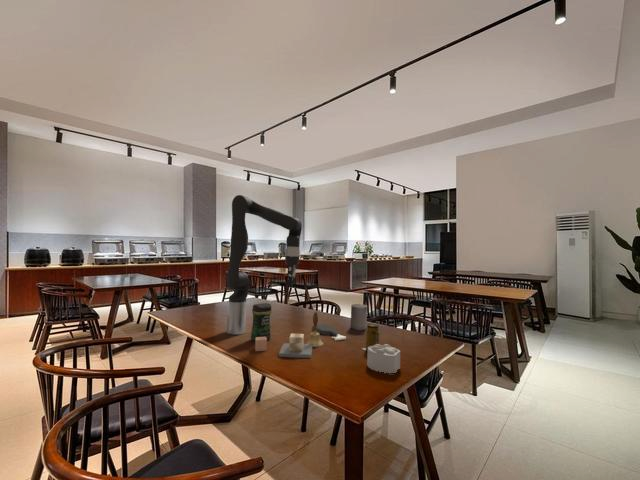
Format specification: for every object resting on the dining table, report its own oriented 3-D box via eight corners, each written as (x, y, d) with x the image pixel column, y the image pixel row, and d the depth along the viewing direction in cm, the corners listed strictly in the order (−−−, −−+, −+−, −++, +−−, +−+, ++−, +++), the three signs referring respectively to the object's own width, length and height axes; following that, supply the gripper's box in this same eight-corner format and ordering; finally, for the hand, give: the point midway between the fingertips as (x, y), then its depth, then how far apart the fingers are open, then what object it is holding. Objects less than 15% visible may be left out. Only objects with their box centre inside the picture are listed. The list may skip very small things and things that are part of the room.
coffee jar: (257, 343, 152) (258, 305, 153) (248, 339, 158) (249, 303, 158) (273, 339, 159) (274, 303, 159) (264, 336, 165) (265, 301, 165)
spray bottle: (326, 328, 186) (350, 340, 165) (310, 330, 180) (333, 343, 159) (326, 323, 186) (350, 334, 165) (310, 325, 180) (333, 337, 159)
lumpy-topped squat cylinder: (393, 375, 119) (394, 353, 119) (362, 367, 126) (363, 346, 126) (401, 367, 128) (402, 346, 128) (372, 360, 135) (373, 340, 135)
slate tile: (278, 356, 135) (278, 353, 135) (283, 346, 149) (283, 343, 149) (310, 358, 135) (310, 354, 135) (312, 347, 149) (312, 344, 149)
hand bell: (303, 344, 154) (304, 312, 154) (314, 340, 160) (315, 309, 160) (315, 348, 148) (316, 315, 148) (326, 344, 154) (327, 312, 154)
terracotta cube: (255, 351, 142) (255, 340, 142) (255, 347, 146) (255, 337, 146) (266, 350, 143) (266, 340, 143) (265, 347, 148) (266, 336, 148)
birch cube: (289, 350, 139) (289, 337, 139) (290, 346, 145) (291, 333, 145) (302, 351, 139) (302, 337, 139) (303, 346, 145) (303, 333, 145)
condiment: (374, 347, 152) (374, 322, 153) (384, 352, 145) (385, 327, 145) (361, 349, 149) (362, 324, 149) (371, 354, 142) (372, 328, 142)
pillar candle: (348, 326, 190) (348, 302, 190) (362, 325, 193) (363, 301, 193) (354, 330, 181) (355, 305, 181) (369, 329, 184) (370, 304, 184)
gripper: (287, 254, 171) (286, 283, 171) (283, 255, 157) (281, 287, 157) (300, 255, 171) (299, 284, 171) (298, 256, 157) (296, 288, 156)
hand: (291, 285), depth 164 cm, fingers open, 8 cm apart
